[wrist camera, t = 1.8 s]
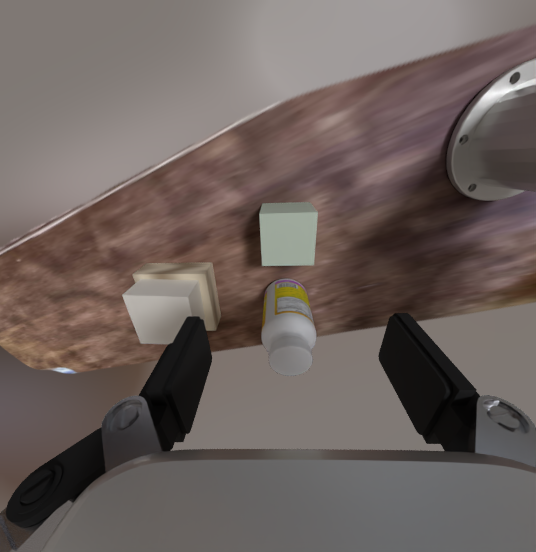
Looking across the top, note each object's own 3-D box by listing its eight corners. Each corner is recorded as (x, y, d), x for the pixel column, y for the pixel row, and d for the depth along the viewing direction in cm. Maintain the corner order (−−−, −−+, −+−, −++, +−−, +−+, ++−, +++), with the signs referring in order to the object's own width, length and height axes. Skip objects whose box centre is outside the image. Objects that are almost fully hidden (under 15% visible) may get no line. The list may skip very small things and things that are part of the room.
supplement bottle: (282, 318, 36) (285, 390, 25) (255, 292, 34) (245, 359, 23) (315, 296, 34) (334, 365, 23) (288, 268, 32) (295, 328, 20)
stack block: (309, 202, 27) (317, 212, 22) (307, 246, 30) (313, 265, 25) (262, 203, 27) (259, 213, 22) (264, 247, 30) (262, 266, 25)
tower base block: (212, 261, 32) (205, 273, 29) (221, 314, 37) (216, 330, 33) (147, 262, 32) (132, 274, 29) (164, 314, 37) (153, 330, 34)
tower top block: (198, 280, 29) (187, 296, 25) (206, 325, 33) (198, 345, 29) (140, 278, 29) (122, 295, 26) (155, 323, 33) (140, 343, 30)
